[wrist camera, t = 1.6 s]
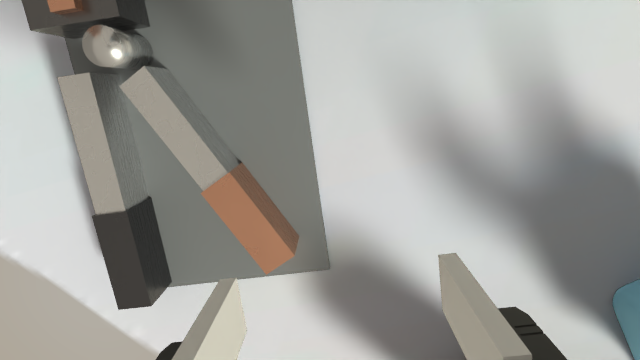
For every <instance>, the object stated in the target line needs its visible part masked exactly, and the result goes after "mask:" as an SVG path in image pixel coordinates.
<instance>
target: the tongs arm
mask: <svg viewBox="0 0 640 360" xmlns="http://www.w3.org/2000/svg"><path fill="white" fill-rule="evenodd" d="M82 47H83V51H84V53H85V55H86V57H87V58H88V59H89V60H90V61H91V62H92V63H94V64H95V65H98V66H102V67H111V68H121V69H130V70H138V71H137V72H136V73H135V74H134V75H132V76H131V77H130V78H129V79H128V80H126V81H125V82H124V83H123V84H122V85H120V86H119V87H120V88H121V90H122V91H123V92H124V93H125V94H126V96H127V97H128V98H129V99H130V101H131V102H132V103H133V104H134V106H135V107H136V108H137V109H138V111H139V112H140V113H141V114H142V116H143V117H144V118H145V119H146V121H147V122H148V123H149V124H150V126H151V127H152V128H153V129H154V131H155V132H156V133H157V134H158V135H159V137H160V138H161V139H162V140H163V142H164V143H165V144H166V145H167V147H168V148H169V149H170V150H171V152H172V153H173V154H174V155H175V157H176V158H177V159H178V160H179V162H180V163H181V164H182V165H183V167H184V168H185V169H186V170H187V172H188V173H189V174H190V175H191V176H192V178H193V179H194V180H195V181H196V183H197V184H198V185H199V186H200V188H201V189H202V190H203V192H202V193H201V195H202V196H203V197H204V198H205V199H206V201H207V202H208V203H209V204H210V206H211V207H212V208H213V209H214V211H215V212H216V213H217V214H218V216H219V217H220V218H221V219H222V221H223V222H224V223H225V224H226V225H227V227H228V228H229V229H230V230H231V232H232V233H233V234H234V235H235V237H236V238H237V239H238V240H239V242H240V243H241V244H242V245H243V247H244V248H245V249H246V250H247V251H248V253H249V254H250V255H251V256H252V258H253V259H254V260H255V261H256V263H257V264H258V265H259V266H260V268H261V269H262V270H263V271H264V273H265V274H266V275H267V274H268V273H270V272H271V271H273V270H274V269H276V268H277V267H279V266H280V265H282V264H283V263H285V262H286V261H288V260H289V259H291V258H292V257H294V256H295V253H296V249H297V244H298V240H299V235H298V234H297V233H296V231H295V230H294V229H293V227H292V226H291V225H290V224H289V222H288V221H287V220H286V218H285V217H284V216H283V214H282V213H281V212H280V211H279V209H278V208H277V207H276V205H275V204H274V203H273V201H272V200H271V199H270V198H269V196H268V195H267V194H266V192H265V191H264V190H263V189H262V187H261V186H260V185H259V183H258V182H257V181H256V179H255V178H254V177H253V176H252V174H251V173H250V172H249V170H248V169H247V168H246V166H245V165H244V164H243V163H240V162H239V161H238V160H237V158H236V157H235V156H234V155H233V153H232V152H231V151H230V149H229V148H228V147H227V145H226V144H225V143H224V142H223V140H222V139H221V138H220V136H219V135H218V134H217V133H216V131H215V130H214V129H213V127H212V126H211V125H210V123H209V122H208V121H207V120H206V118H205V117H204V116H203V114H202V113H201V112H200V111H199V109H198V108H197V107H196V105H195V104H194V103H193V101H192V100H191V99H190V98H189V96H188V95H187V94H186V92H185V91H184V90H183V89H182V87H181V86H180V85H179V83H178V82H177V81H176V79H175V78H174V77H173V76H172V74H171V73H170V72H169V70H168V69H164V68H157V67H149V65H150V64H151V62H152V59H153V50H152V47H151V45H150V43H149V42H148V41H147V40H146V39H145V38H144V37H142V36H140V35H136V34H133V33H129V32H126V31H122V30H119V29H115V28H112V27H108V26H105V25H94V26H92V27H90V28H89V29H88V30H87V31H86V32H85V34H84V36H83V39H82Z"/></svg>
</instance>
